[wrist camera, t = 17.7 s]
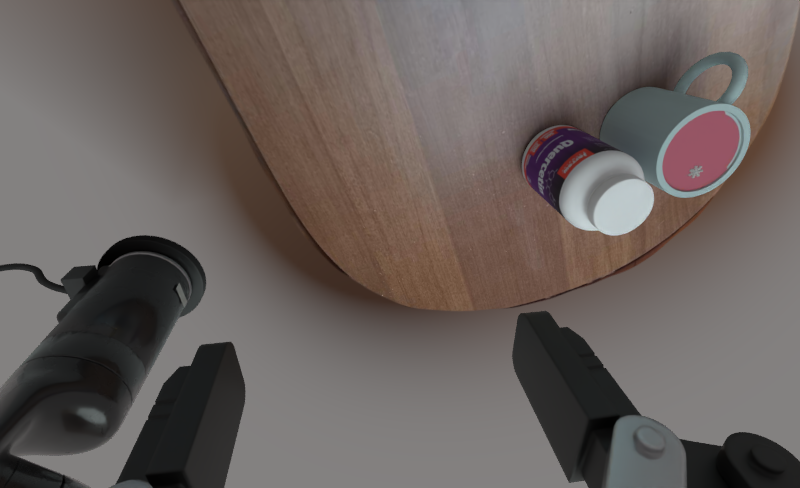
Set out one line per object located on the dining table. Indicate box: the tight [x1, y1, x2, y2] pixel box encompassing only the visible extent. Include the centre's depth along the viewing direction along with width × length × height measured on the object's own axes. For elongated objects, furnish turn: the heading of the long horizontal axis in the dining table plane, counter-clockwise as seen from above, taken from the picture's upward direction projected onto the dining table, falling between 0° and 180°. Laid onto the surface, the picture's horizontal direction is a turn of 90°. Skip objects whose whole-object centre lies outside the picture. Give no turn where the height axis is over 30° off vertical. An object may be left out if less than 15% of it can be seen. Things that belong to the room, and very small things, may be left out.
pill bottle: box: [522, 125, 654, 235], centre depth 42 cm, size 8×8×14 cm
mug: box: [600, 52, 750, 198], centre depth 43 cm, size 14×9×10 cm
